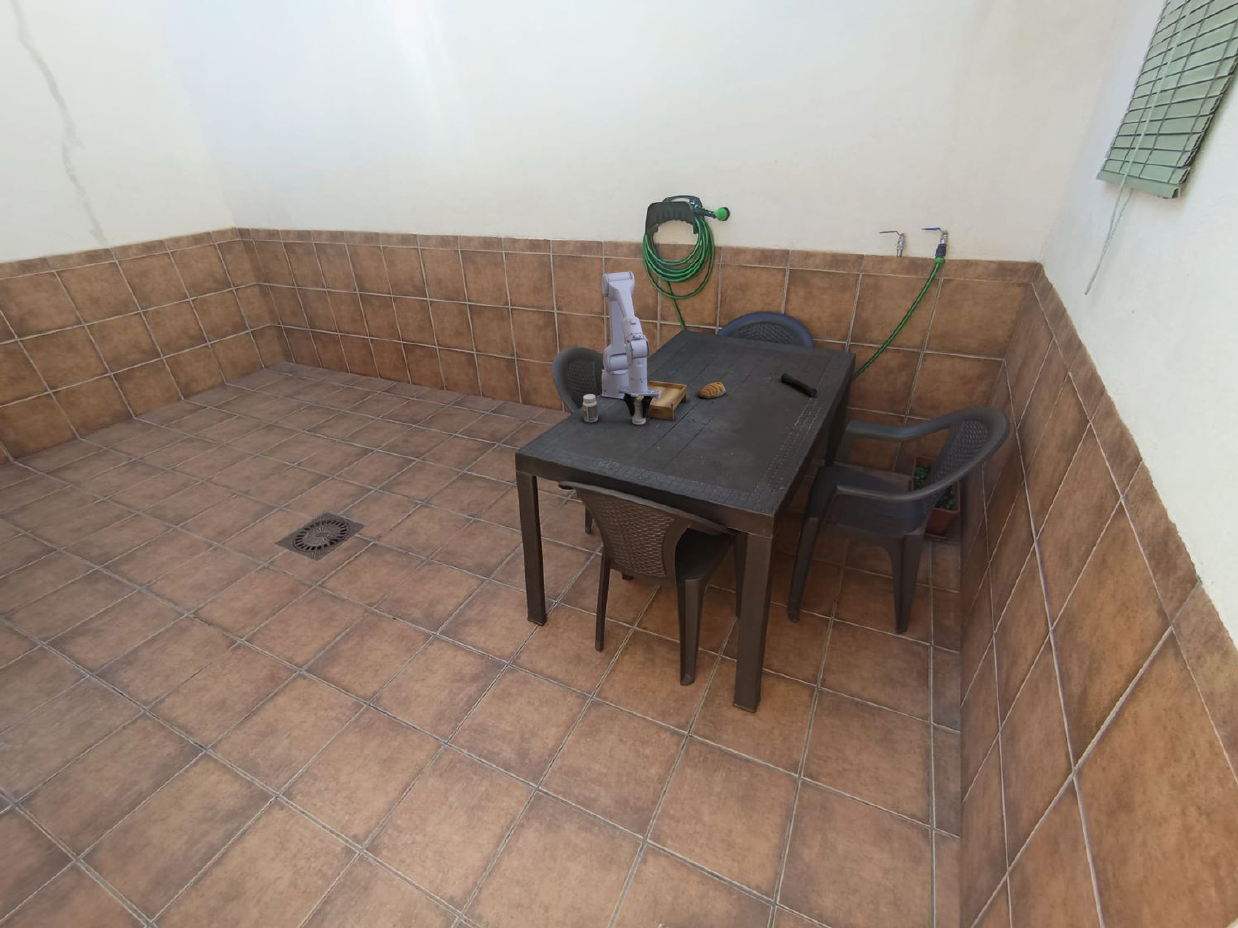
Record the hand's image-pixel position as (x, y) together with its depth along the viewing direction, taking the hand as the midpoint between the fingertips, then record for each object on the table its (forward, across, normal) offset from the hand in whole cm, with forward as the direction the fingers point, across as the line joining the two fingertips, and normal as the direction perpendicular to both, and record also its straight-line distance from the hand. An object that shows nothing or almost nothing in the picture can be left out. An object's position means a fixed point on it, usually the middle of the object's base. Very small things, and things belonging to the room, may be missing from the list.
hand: (638, 415), depth 182 cm
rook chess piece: (+3, 0, 0) cm, 3 cm away
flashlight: (+3, +45, +44) cm, 62 cm away
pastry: (+3, +17, +29) cm, 34 cm away
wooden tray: (+2, +3, +13) cm, 14 cm away
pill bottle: (+3, -16, -3) cm, 16 cm away
